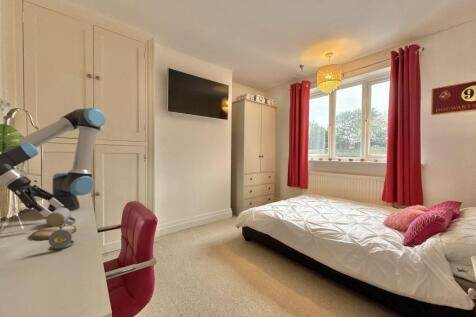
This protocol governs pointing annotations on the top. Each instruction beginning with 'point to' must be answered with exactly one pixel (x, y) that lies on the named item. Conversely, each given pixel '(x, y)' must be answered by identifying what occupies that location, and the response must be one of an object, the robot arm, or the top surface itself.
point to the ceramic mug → (60, 217)
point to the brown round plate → (50, 232)
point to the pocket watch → (61, 238)
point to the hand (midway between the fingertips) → (55, 211)
